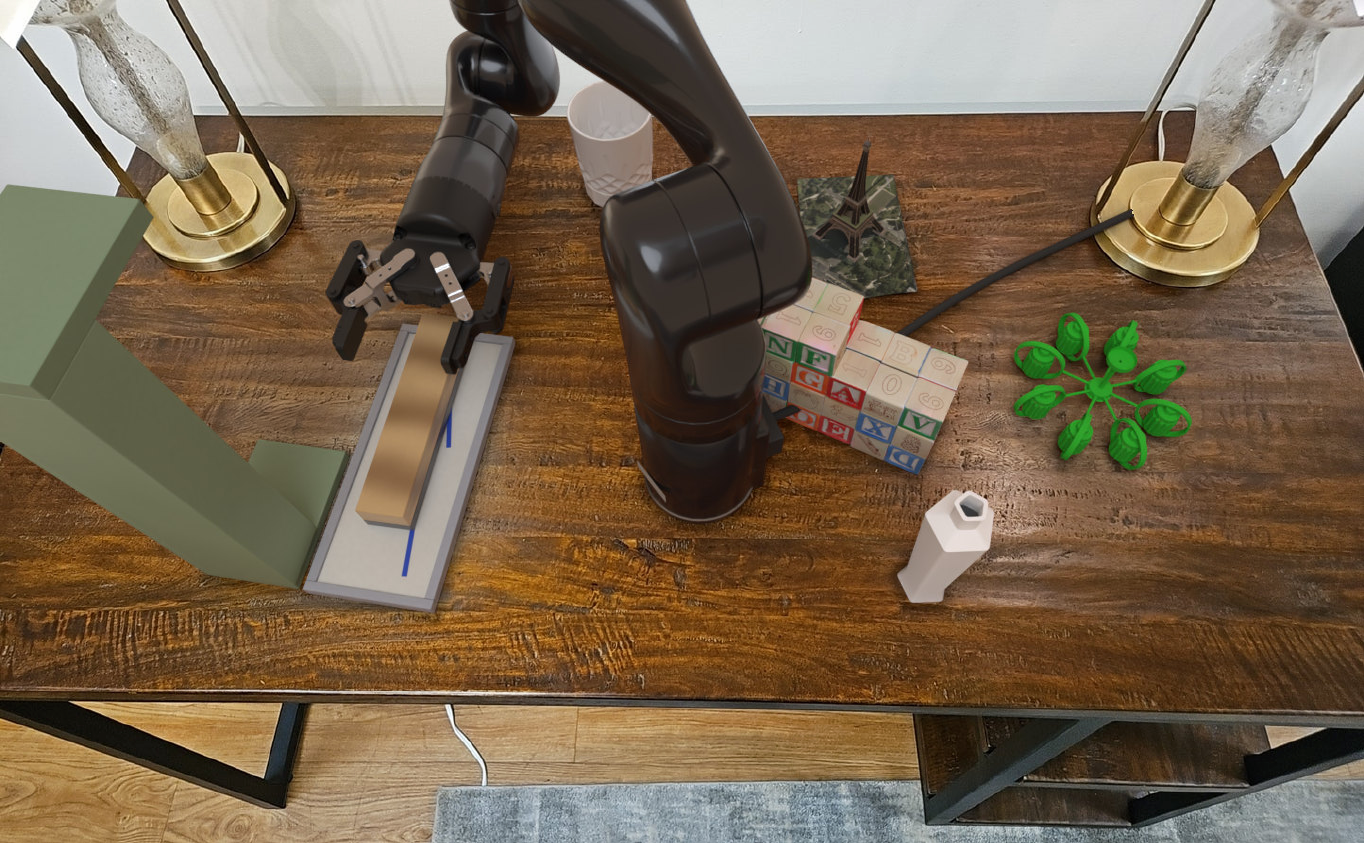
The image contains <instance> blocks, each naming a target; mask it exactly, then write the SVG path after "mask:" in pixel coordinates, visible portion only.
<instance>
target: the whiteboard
mask: <svg viewBox="0 0 1364 843" xmlns="http://www.w3.org/2000/svg"><path fill="white" fill-rule="evenodd" d="M418 325H419V324H418ZM418 325H417V324H409V323H402V324H401V326H400V329H399V332H398V333H397V337H396V340H395V342H394V345H393V347H392V350H391V353H390V355H389V358H388V361H387V363H386V366H385V369H384V370H383V374H382V376H381V379H380V382H379V385H378V388H377V390H376V393H375V395H374V398H373V401H372V403H371V407H370V409H369V411H368V414H367V416H366V419H365V422H364V425H363V427H362V430H361V432H360V435H359V438H358V441H357V443H356V446H355V447H354V448H355V449H354V451H353V453H352V457H351V459H350V462H349V464H348V468H347V470H346V472H345V475H344V477H343V480H342V484H341V486H340V488H339V491H338V494H337V496H336V499H335V501H334V504H333V507H332V509H331V512H330V514H329V517H328V520H327V523H326V526H325V528H324V531H323V533H322V536H321V539H320V542H319V544H318V547H317V549H316V552H315V554H314V558H313V560H312V563H311V566H310V568H309V571H308V573H307V576H306V580H305V582H304V583H303V584H304V585H303V587H302V590H303V591H304V592H306V593H307V594H310V595H315V596H322V597H328V598H335V599H341V600H347V601H353V602H360V603H366V604H367V603H368V604H373V605H378V606H386V607H392V608H397V609H403V610H404V609H405V610H410V611H418V612H423V613H428V614H429V613H430V614H435V613H436V610H437V606H438V603H439V600H440V597H441V594H442V590H443V587H444V584H445V581H446V577H447V574H448V570H449V567H450V565H451V561H452V557H453V554H454V551H455V548H456V547H455V546H456V544H457V540H458V538H459V534H460V530H461V526H462V524H463V520H464V518H465V514H466V510H467V507H468V503H469V500H470V497H471V494H472V491H473V486H474V483H475V481H476V477H477V473H478V470H479V467H480V464H481V461H482V456H483V454H484V450H485V446H486V444H487V440H488V438H489V434H490V430H491V427H492V424H493V420H494V417H495V413H496V410H497V407H498V405H499V404H498V403H499V400H500V397H501V394H502V391H503V387H504V385H505V382H506V381H505V380H506V377H507V373H508V370H509V367H510V363H511V360H512V356H513V353H514V350H515V347H516V341H515V338H514V337H513V336H507V335H500V334H492V333H485V332H483V333H480V334H479V335H478V336H476V337H475V339H474V342H473V345H472V349H471V352H470V355H469V357H468V361H467V364H466V365H465V366H464V369H463V373H462V376H461V379H460V382H459V386H458V389H457V392H456V395H455V399H454V402H453V405H452V409H451V412H450V415H449V418H448V422H447V425H446V428H445V431H444V435H443V438H442V441H441V444H440V448H439V451H438V454H437V458H436V461H435V464H434V467H433V471H432V474H431V477H430V480H429V484H428V487H427V490H426V494H425V497H424V500H423V503H422V507H421V510H420V513H419V516H418V520H417V523H416V526H415V529H414V531H413V530H405V529H398V528H390V527H383V526H376V525H368V524H367V523H366V522H365V521H364V520H363V519H362V518H361V517H360V516H359V515H358V514H357V512H356V511H355V509H356V506H357V503H358V500H359V497H360V494H361V492H362V489H363V486H364V483H365V480H366V477H367V474H368V471H369V468H370V465H371V462H372V459H373V456H374V454H375V451H376V448H377V445H378V442H379V439H380V436H381V433H382V430H383V427H384V424H385V421H386V418H387V416H388V413H389V410H390V407H391V404H392V401H393V398H394V395H395V392H396V389H397V386H398V383H399V380H400V378H401V375H402V372H403V369H404V366H405V363H406V360H407V357H408V354H409V351H410V348H411V345H412V342H413V340H414V337H415V334H416V331H417V328H418Z"/></svg>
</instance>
